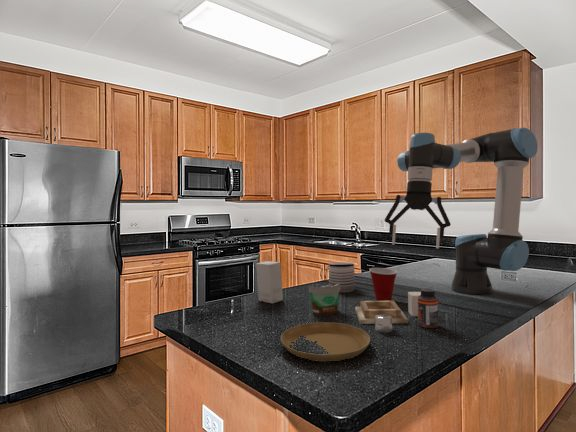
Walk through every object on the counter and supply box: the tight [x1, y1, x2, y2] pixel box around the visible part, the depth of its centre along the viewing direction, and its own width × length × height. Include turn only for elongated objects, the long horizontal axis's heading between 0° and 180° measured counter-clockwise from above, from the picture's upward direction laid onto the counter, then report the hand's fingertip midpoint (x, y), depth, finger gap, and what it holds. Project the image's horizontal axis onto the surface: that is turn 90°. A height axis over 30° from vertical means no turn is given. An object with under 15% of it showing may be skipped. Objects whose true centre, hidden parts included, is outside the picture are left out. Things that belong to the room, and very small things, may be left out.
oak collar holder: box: [354, 299, 409, 325], centre depth 127 cm, size 15×15×4 cm
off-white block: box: [407, 291, 421, 317], centre depth 128 cm, size 5×5×7 cm
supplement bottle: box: [417, 287, 439, 329], centre depth 116 cm, size 6×6×11 cm
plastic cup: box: [369, 267, 399, 301], centre depth 146 cm, size 11×11×12 cm
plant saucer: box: [280, 321, 371, 362], centre depth 103 cm, size 24×24×3 cm
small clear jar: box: [374, 314, 393, 334], centre depth 114 cm, size 5×5×4 cm
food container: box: [308, 282, 341, 317], centre depth 132 cm, size 12×6×10 cm, turn 117°
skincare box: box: [255, 260, 284, 304], centre depth 152 cm, size 8×7×16 cm
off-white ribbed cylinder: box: [328, 262, 356, 293], centre depth 166 cm, size 11×11×12 cm
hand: (414, 246), depth 122 cm, fingers open, 13 cm apart
